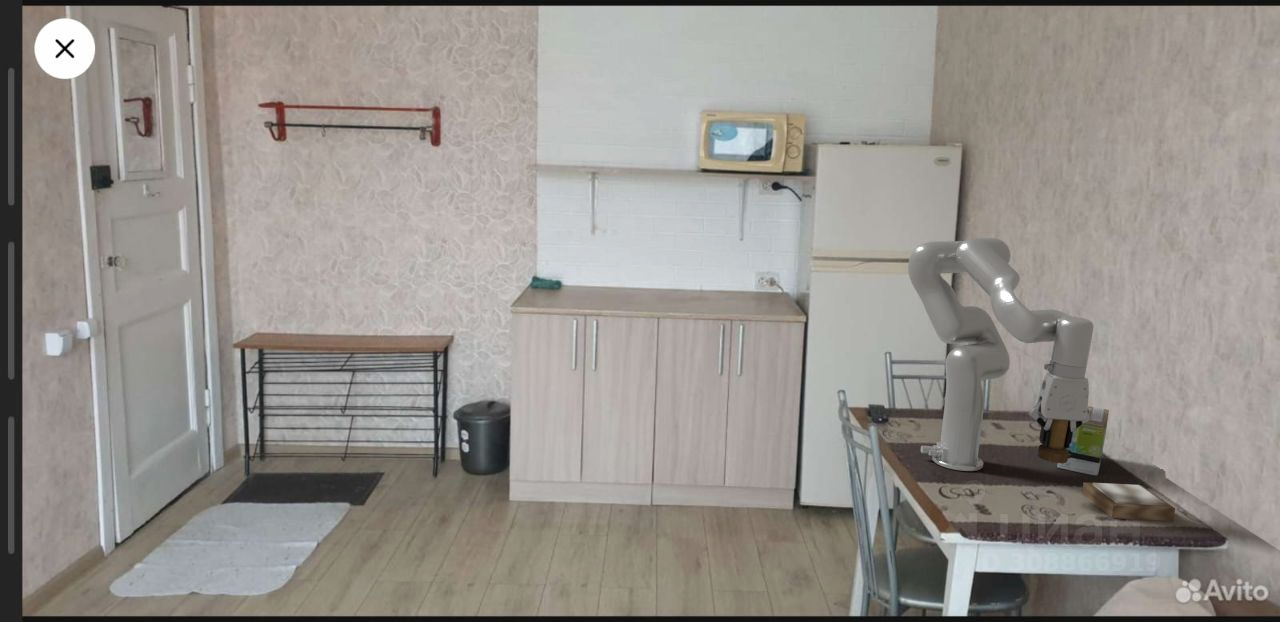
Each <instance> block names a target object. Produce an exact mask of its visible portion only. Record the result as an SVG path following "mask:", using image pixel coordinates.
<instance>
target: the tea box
mask: <svg viewBox="0 0 1280 622" xmlns="http://www.w3.org/2000/svg"><path fill="white" fill-rule="evenodd" d="M1087 412H1088V414H1089V416H1090V418H1091V419H1090V420H1089V421H1087V422H1085V423H1084V424H1082V425H1081V426H1079V427H1078V428H1077V429H1076V431H1075V432H1073V435H1072V441H1071V444H1070V445H1069V448H1066V449H1067V450H1068V451H1069V455H1068V461H1067V462H1066V463H1057V465H1056V466H1057V468H1059V469H1063V470H1066V471H1072V472H1076V473H1082V474H1086V475H1090V476H1095V477H1096V476H1098V475H1099V471H1100V466H1101V461H1102V456H1103V452H1104V445H1105V441H1106V435H1107V427H1108V421H1109V414H1110V413H1109V412H1110V411H1109V409H1106V408H1102V407H1097V406H1096V407H1095V406H1090V405H1088V409H1087Z"/></svg>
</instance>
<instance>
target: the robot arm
mask: <svg viewBox="0 0 1280 622" xmlns="http://www.w3.org/2000/svg"><path fill="white" fill-rule="evenodd" d="M1010 261H1011V250H1010V248H1009V246H1008V245H1007V244H1006V243H1005V241H1003V240H1001V239H1000V238H996V237H974V238H970V239H966V240H955V241H951V240H949V241H944V240H942V241H940V240H939V241H927V242H924V243H922V244H920V245H917V246H916V247H915V248H914V249H913V251H912V252H911V254H910V256H909V260H908V272H907V273H908V277H909V280H910V282H911V284H912V287H913V288H914V290H915V292H916V293H917V295H918V297H919V299H920V301H921V302H922V305H923V306H924V309H925V311H926V313H927V316H928V318H929V320H930V323H931V324H932V327H933V329H934V331H935V333H936V335H937V336H938V337H937V338H938V339H940V341H941V342H943V343H945V344H950V345H951V344H952V345H953V344H954V345H955V344H963V345H960V346H959V345H958V346H957V347H955V348H952V350H950V352H949V353H948V354H947V356H946V359H945V365H944V367H945V377H946V378H945V381H946V383H945V384H946V387H945V389H946V390H945V400H944V410H943V416H942V417H943V418H942V425H941V426H942V427H941V433H940V434H941V435H940V441H936V444H934V445H932V446H931V445H930V446H929V445H921V446H920V453H921V454H928V456H932V458H931V459H932V461H933V462H934V463H935V464H937V465H939V466H941V467H944V468H947V469H951V470H953V471H954V470H955V471H961V472H962V471H963V472H975V471H979V470H981V469H983V468H984V461H983V460H982V459H981V458H979V448H980V441H981V432H982V425H983V418H984V409H985V408H984V407H985V393H984V389H983V386H982V381H988V380H994V379H999V378H1002V377H1003V376H1005V375H1006V373H1008V371H1009V369H1010V363H1011V361H1010V354H1009V352H1008V349H1007V347H1006V345H1005V342H1004V341H1003V339H1002V336H1001V335H1000V332H999V331H998V329H997V327H996V324H995V323H994V321H993V319H992V317H991V316H990V314H989V313H988V312H987V311H985V310H984V309H983V308H981V307H979V306H973V305H971V306H967V305H966V306H963V304H961V302H960V300H959V299H958V297H957V294H956V292H955V290H954V288H953V287H952V286H951V285H950V283H949V282H948V281H947V280H945V279H944V278H943V276H942V275H941V274H957V273H959V274H960V273H966V274H968V275H969V277H971V278H972V279H973V281H974V282H975V283H976V284H977V285H978V286H979V287H980V288H981V289H982V290H983V291H984V292H985V293H986V294H987V295H988V296H989V297H990V306H991V309H992V312H993V315H994V316H995V318H996V320H997V321H998V323H1000V325H1001V326H1002V327H1003V328H1004V329H1005V331H1007V332H1008V333H1009V334H1010V335H1011V336H1012V337H1014V338H1015V339H1017V340H1018V341H1020V343H1021V342H1022V343H1023V344H1035V343H1036V344H1037V343H1047V342H1048V343H1049V342H1053V346H1052V352H1051V357H1050V358H1051V359H1050V360H1049V363H1047V364H1046V363H1045V364H1044V366H1043V368H1044V371H1047V372H1046V373H1045V375H1044V377H1043V379H1042V382H1041V386H1040V388H1039V392H1038V395H1037V400H1036V404H1035V405H1034V406H1033V407H1032V408H1031V409H1030V411H1029V412H1028V416H1029V417H1031V418H1032V419H1034V420H1035V421H1036V423H1037V424H1038V425H1039V426H1040V433H1039V438H1038V439H1039V442H1040V443H1041V444H1043V445H1044V446H1045V447H1048V446H1049V442H1050V436H1051V431H1050V430H1049V429H1050V426H1051V423H1052V421H1053V419H1054V420H1069V422H1068V427H1067V432H1066V438H1065V443H1064V447H1065V448H1069V445H1070V444H1071V441H1072V435H1073V432H1075V431H1076V429H1077V428H1078V427H1079V426H1081V425H1082V424H1084V423H1085V422H1087V421H1089V420H1090V419H1091V418H1090V416H1089V414H1088V412H1087V409H1088V406H1089V394H1090V391H1089V389H1090V388H1089V379H1088V378H1087V377H1086V372H1087V366H1088V362H1089V361H1088V360H1089V357H1090V356H1089V355H1090V350H1091V344H1092V339H1093V333H1094V324H1093V321H1091V320H1089V319H1087V318H1084V317H1080V316H1079V317H1078V316H1072V315H1069V314H1067V313H1065V312H1063V311H1060V310H1057V309H1050V308H1049V309H1037V310H1036V309H1035V310H1030V309H1028V308H1027V307H1026V306H1025V305H1024V303H1022V301H1020V299H1019V298H1018V297H1017V296H1016V295H1015V293H1014V291H1015V290H1016V288H1017V287H1018V286H1019V282H1020V274H1019V273H1018V272H1017V271H1016V270H1015V269H1014V268H1013V267H1012V266H1011V265H1010V264H1009V263H1010ZM1039 414H1041V415H1042V416H1040V415H1039ZM1041 444H1040V445H1041Z"/></svg>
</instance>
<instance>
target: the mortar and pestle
mask: <svg viewBox="0 0 1280 622" xmlns="http://www.w3.org/2000/svg"><path fill="white" fill-rule="evenodd" d="M1068 422H1069V420H1054V419H1053V421H1052V423H1051V426H1050V429H1049V430H1050V431H1051V436H1050V442H1049V446H1048V447H1045V446H1044V445H1043V444H1039V446H1038V451H1037V457H1039V458H1040V459H1041V460H1044V461H1047V462H1050V463H1055V464H1058V463H1066V462H1067V461H1068V455H1069V451H1068V450H1067V449H1066V448H1065V447H1064V443H1065V438H1066V432H1067V427H1068Z"/></svg>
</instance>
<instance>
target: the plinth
mask: <svg viewBox="0 0 1280 622" xmlns="http://www.w3.org/2000/svg"><path fill="white" fill-rule="evenodd" d="M1082 484H1083V485H1082V488H1081V489H1082V490H1081V495H1082V494H1083V495H1084V496H1083V495H1082V496H1083V497H1085V498H1086V497H1087V498H1088V499H1089V501H1090V502H1091V503H1092V504H1093V503H1094V504H1093V505H1095V506H1096V507H1097V508H1098V509H1099V510H1101V511H1102V512H1104V514H1106V515H1107V516H1108V517H1110V518H1111V519H1126V520H1127V519H1129V520H1142V521H1143V520H1145V521H1147V520H1148V521H1168V522H1169V521H1170V522H1173V521H1174V518H1175V512H1176V508H1175V507H1173V506H1172V505H1171V504H1170V503H1168V502H1167V501H1165V500H1164V499H1162V498H1161V497H1159V496H1158V495H1156V494H1155V493H1154V492H1152V491H1150V489H1148V488H1146V487H1145V486H1143V485H1141V484H1129V483H1126V484H1125V483H1124V484H1123V483H1110V482H1109V483H1106V482H1104V483H1103V482H1085V481H1084V482H1083V483H1082ZM1087 498H1086V499H1087ZM1088 499H1087V500H1088Z"/></svg>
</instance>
